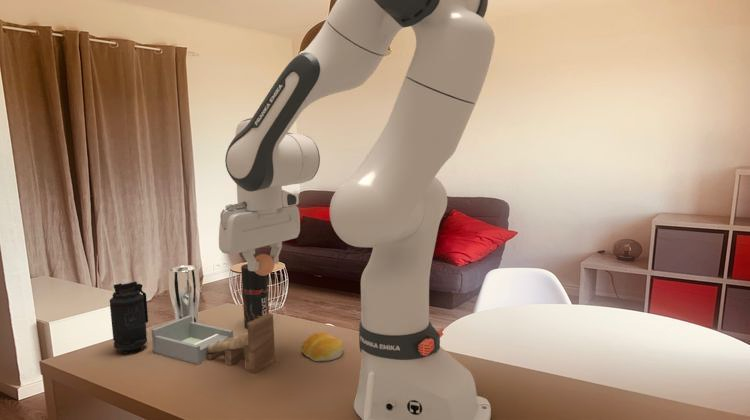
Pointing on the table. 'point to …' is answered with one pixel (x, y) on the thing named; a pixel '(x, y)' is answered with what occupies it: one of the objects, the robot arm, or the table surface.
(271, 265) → the ball
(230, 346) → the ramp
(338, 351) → the bread roll
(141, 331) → the grenade
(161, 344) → the grey tray
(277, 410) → the table surface
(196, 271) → the beer glass
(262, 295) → the deodorant
